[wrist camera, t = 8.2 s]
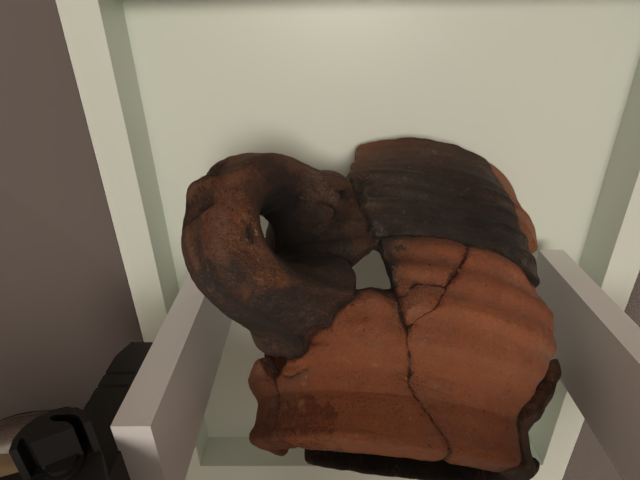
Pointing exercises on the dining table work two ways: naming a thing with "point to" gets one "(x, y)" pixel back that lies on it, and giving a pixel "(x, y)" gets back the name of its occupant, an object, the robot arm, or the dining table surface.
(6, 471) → the crank
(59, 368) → the dining table surface
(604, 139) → the tray
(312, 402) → the pottery mug
